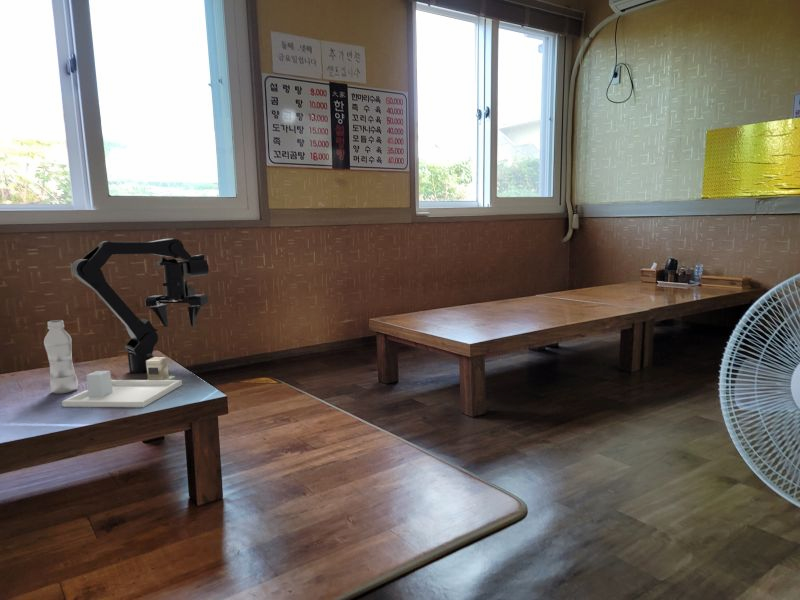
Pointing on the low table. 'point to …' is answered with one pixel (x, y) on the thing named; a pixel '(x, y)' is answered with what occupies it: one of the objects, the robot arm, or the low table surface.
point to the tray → (125, 394)
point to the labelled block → (157, 368)
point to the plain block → (99, 383)
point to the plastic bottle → (60, 358)
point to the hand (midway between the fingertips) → (179, 326)
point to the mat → (168, 378)
